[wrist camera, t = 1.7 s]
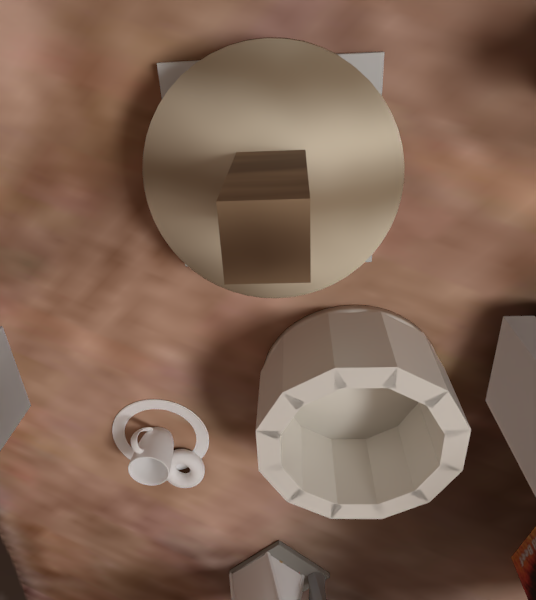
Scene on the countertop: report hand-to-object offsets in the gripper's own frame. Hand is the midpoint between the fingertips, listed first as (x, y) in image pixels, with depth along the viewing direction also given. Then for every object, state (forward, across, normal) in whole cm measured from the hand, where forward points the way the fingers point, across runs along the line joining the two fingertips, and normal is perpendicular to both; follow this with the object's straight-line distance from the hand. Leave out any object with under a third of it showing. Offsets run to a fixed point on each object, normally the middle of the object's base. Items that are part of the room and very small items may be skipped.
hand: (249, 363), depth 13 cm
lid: (+18, 0, 0) cm, 18 cm away
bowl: (+19, +5, -16) cm, 25 cm away
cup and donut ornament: (+20, -12, -24) cm, 33 cm away
